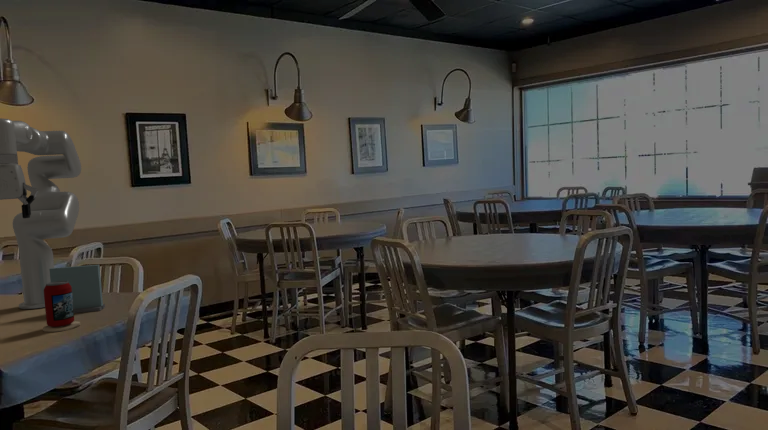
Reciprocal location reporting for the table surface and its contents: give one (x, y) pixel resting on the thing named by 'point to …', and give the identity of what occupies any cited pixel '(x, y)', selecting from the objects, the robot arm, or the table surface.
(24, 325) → the table surface
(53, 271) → the screen
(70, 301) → the beverage can
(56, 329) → the coaster
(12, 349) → the table surface
